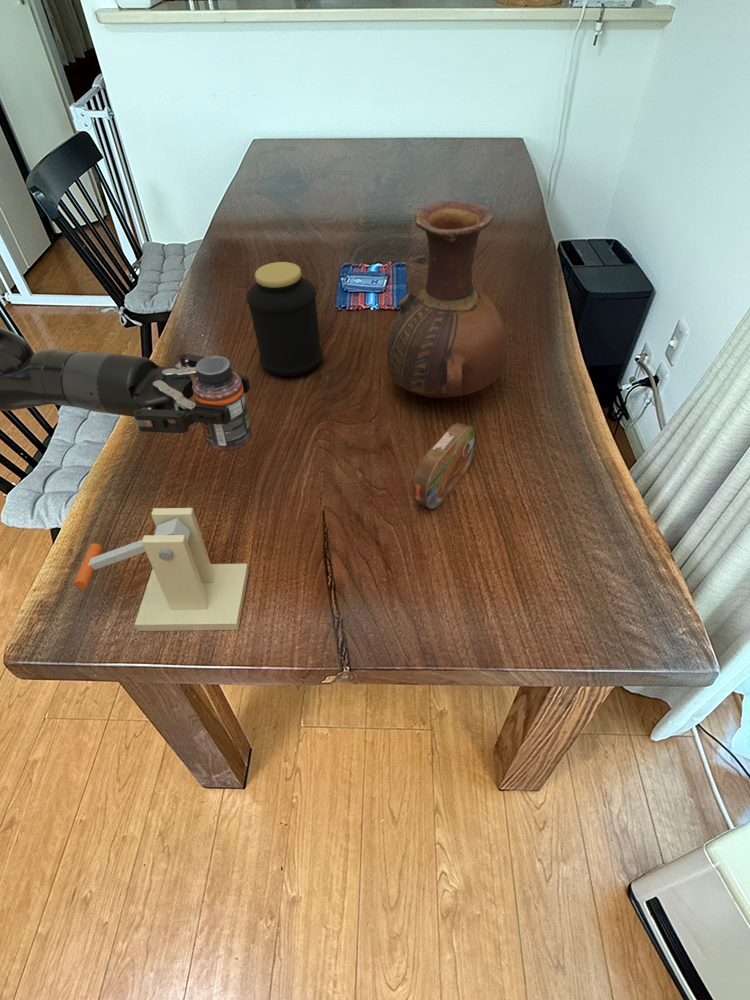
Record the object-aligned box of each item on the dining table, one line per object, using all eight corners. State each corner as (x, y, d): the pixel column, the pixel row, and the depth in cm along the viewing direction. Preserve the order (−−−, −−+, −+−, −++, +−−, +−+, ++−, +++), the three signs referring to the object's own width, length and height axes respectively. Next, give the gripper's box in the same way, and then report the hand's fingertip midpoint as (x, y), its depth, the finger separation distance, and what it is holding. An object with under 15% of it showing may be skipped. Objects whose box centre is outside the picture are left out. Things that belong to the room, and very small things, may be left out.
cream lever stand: (137, 631, 71) (98, 557, 61) (156, 571, 77) (124, 495, 68) (238, 630, 71) (215, 556, 61) (249, 570, 77) (230, 494, 68)
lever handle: (83, 592, 68) (67, 580, 67) (99, 554, 72) (84, 542, 71) (183, 557, 64) (168, 544, 62) (194, 519, 68) (180, 506, 66)
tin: (426, 520, 83) (430, 476, 77) (407, 511, 84) (409, 467, 79) (476, 461, 92) (482, 417, 86) (457, 453, 93) (463, 410, 87)
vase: (378, 358, 113) (377, 187, 92) (480, 350, 115) (503, 181, 93) (398, 440, 96) (402, 254, 74) (518, 430, 97) (556, 244, 76)
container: (244, 369, 111) (226, 274, 98) (288, 341, 117) (276, 249, 105) (294, 391, 106) (281, 294, 93) (336, 360, 112) (330, 266, 100)
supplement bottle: (201, 431, 79) (181, 357, 71) (244, 420, 81) (230, 345, 73) (212, 458, 75) (193, 382, 67) (257, 445, 77) (244, 370, 69)
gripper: (70, 391, 68) (210, 409, 65) (131, 328, 78) (254, 342, 75) (92, 442, 73) (222, 460, 71) (147, 377, 83) (262, 391, 81)
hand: (238, 399), depth 73 cm, fingers closed on supplement bottle, 6 cm apart
